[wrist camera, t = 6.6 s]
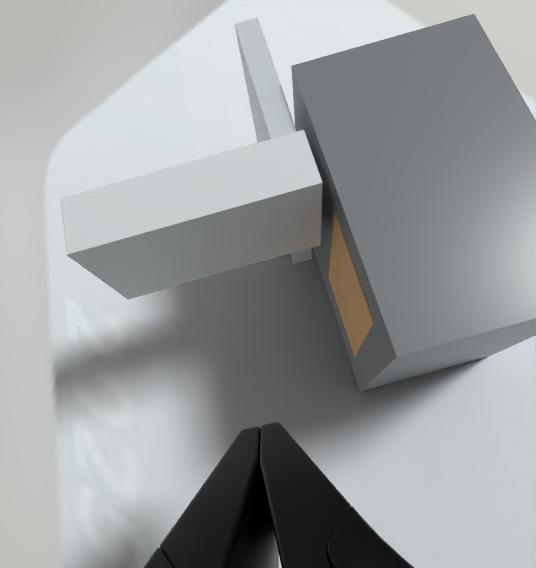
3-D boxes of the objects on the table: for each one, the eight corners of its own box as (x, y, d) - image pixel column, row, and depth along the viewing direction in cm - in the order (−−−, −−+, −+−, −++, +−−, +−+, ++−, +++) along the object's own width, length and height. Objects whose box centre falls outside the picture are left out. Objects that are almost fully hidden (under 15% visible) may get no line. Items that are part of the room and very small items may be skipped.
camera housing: (488, 356, 17) (634, 290, 9) (358, 392, 17) (395, 356, 9) (403, 160, 20) (458, -12, 12) (293, 191, 20) (280, 38, 12)
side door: (319, 282, 17) (322, 182, 10) (165, 326, 17) (66, 254, 10) (274, 143, 19) (253, -16, 12) (138, 182, 19) (43, 45, 12)
